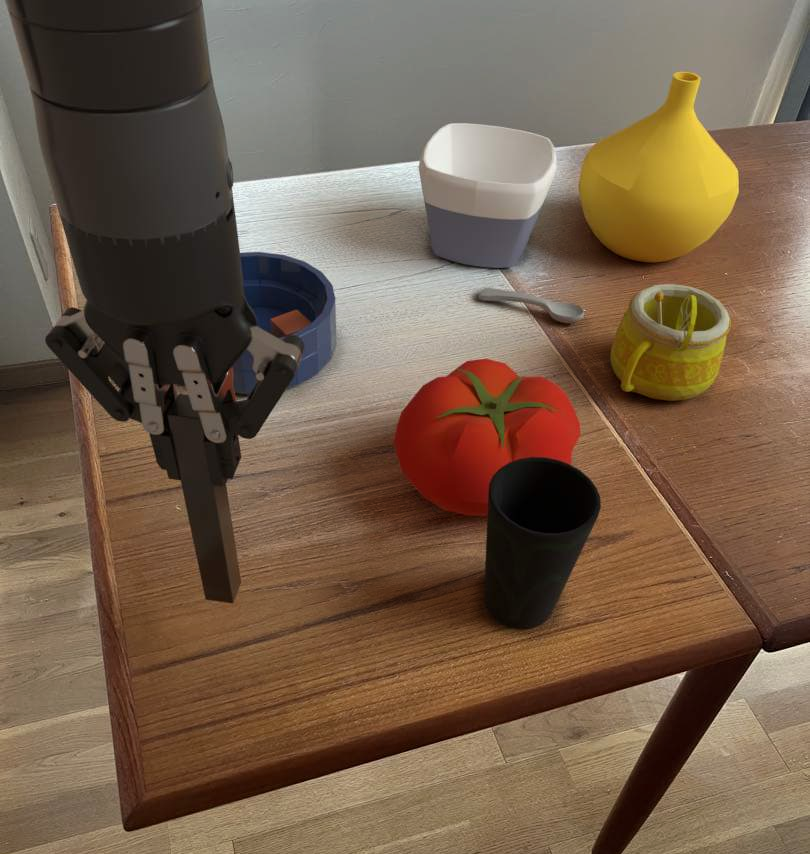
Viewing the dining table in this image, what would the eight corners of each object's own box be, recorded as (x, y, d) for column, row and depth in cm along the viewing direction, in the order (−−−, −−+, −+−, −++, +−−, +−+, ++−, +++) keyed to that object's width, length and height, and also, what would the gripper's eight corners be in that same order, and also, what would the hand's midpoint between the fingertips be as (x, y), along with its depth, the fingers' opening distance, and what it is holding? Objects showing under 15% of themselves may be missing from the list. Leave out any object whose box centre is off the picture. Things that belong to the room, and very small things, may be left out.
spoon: (578, 330, 89) (581, 314, 88) (475, 308, 93) (476, 293, 91) (586, 316, 91) (588, 300, 90) (484, 296, 95) (485, 280, 93)
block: (272, 345, 85) (269, 318, 82) (298, 335, 86) (297, 308, 83) (288, 361, 83) (286, 334, 80) (315, 351, 84) (313, 324, 82)
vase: (725, 289, 96) (789, 119, 82) (569, 273, 97) (605, 103, 83) (705, 213, 108) (758, 53, 94) (566, 200, 109) (598, 39, 95)
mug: (643, 331, 90) (675, 228, 81) (731, 378, 85) (775, 274, 76) (571, 379, 84) (597, 274, 75) (661, 433, 79) (700, 327, 70)
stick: (205, 599, 56) (166, 414, 45) (214, 578, 58) (178, 392, 46) (233, 604, 56) (201, 419, 45) (241, 582, 58) (212, 397, 46)
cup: (455, 576, 66) (470, 469, 57) (539, 553, 68) (567, 446, 59) (495, 652, 62) (519, 549, 53) (584, 624, 64) (622, 520, 55)
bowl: (549, 223, 105) (565, 134, 96) (531, 287, 95) (548, 193, 86) (432, 204, 107) (438, 115, 98) (402, 265, 97) (406, 171, 88)
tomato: (361, 476, 73) (361, 388, 66) (489, 402, 81) (502, 316, 73) (474, 572, 67) (488, 486, 59) (602, 482, 74) (629, 396, 67)
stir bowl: (150, 386, 80) (137, 334, 76) (202, 294, 91) (194, 243, 87) (316, 408, 79) (314, 357, 75) (349, 312, 90) (349, 262, 86)
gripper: (-49, 212, 34) (65, 502, 47) (277, 250, 33) (301, 535, 46) (32, 136, 39) (114, 418, 52) (318, 168, 38) (329, 446, 51)
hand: (202, 472), depth 49 cm, fingers closed on stick, 2 cm apart
